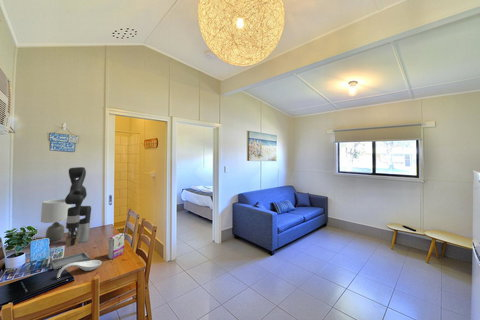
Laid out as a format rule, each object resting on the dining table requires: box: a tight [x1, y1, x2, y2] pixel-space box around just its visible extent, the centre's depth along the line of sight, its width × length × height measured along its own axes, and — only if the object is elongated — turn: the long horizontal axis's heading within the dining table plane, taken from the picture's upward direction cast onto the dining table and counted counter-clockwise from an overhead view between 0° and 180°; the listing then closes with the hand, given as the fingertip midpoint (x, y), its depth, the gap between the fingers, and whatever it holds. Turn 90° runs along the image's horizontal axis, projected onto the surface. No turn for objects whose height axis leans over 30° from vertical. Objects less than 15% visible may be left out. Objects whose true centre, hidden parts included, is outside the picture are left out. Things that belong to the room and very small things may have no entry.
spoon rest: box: [56, 259, 102, 279], centre depth 132 cm, size 24×12×7 cm, turn 138°
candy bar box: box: [107, 232, 126, 260], centre depth 157 cm, size 11×5×16 cm, turn 168°
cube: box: [64, 235, 79, 248], centre depth 144 cm, size 6×6×6 cm
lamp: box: [40, 198, 72, 242], centre depth 184 cm, size 21×21×37 cm
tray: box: [50, 251, 91, 270], centre depth 144 cm, size 14×20×2 cm
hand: (71, 243), depth 144 cm, fingers closed on cube, 6 cm apart
